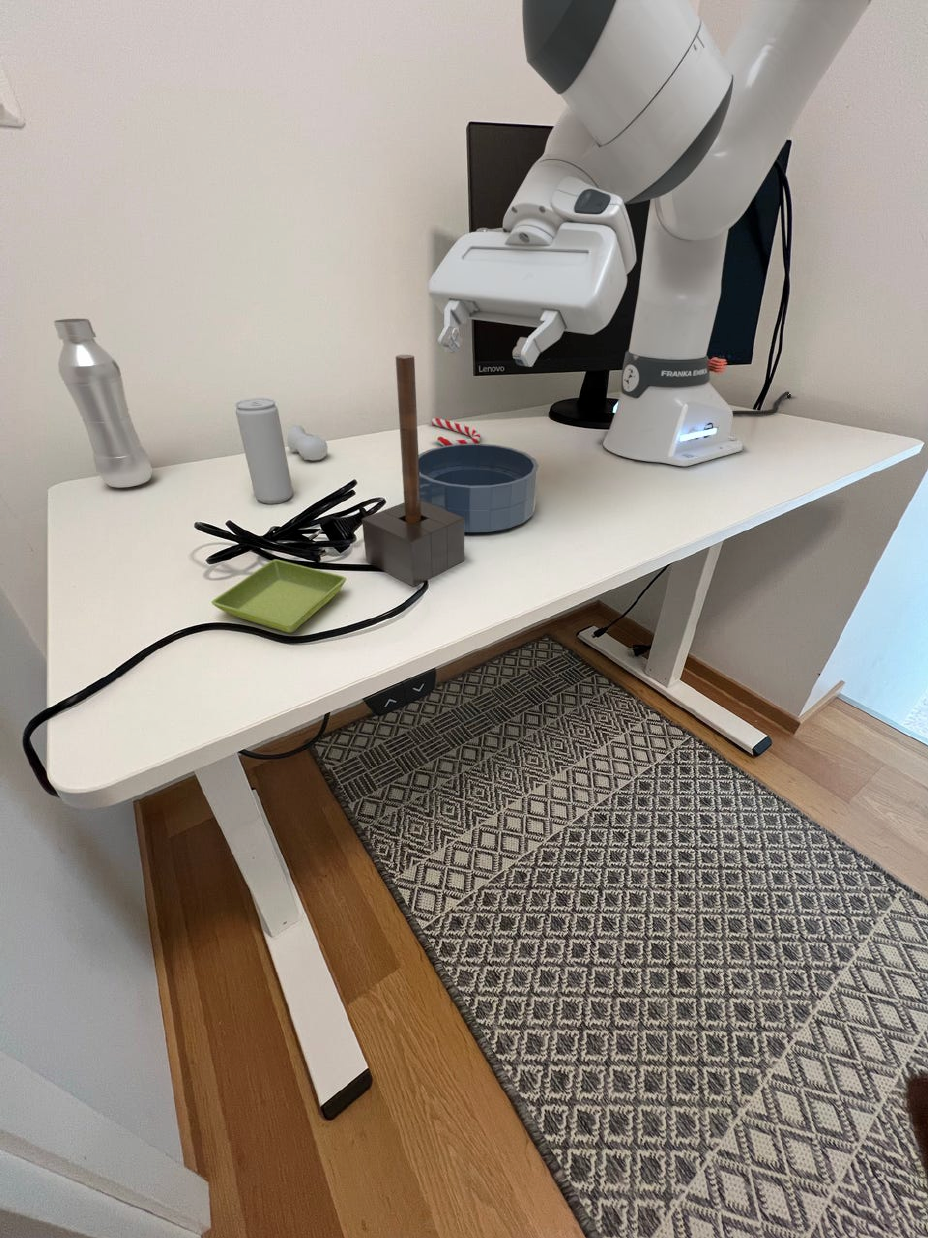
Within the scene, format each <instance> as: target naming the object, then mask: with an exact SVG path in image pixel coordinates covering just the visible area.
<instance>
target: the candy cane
mask: <svg viewBox="0 0 928 1238" xmlns="http://www.w3.org/2000/svg"><path fill="white" fill-rule="evenodd" d="M431 425H433V426H435V427H440V428H444V429H447V430H451V431H454V432H457V433H460V434H463V435H466V436H468V437H470V438H467V439H448V438H445V437H443V436H438V437H437V439H436V441H437V443H438V444H439V445H440V446H441V447H442V446H447V445H456V444H480V441H481V434H480V433H479V432H478V431H477V430H475V429H473V428H472V427H469V426H467V425H464V424H461V423H457V422H455V421H450V420H446V419H442V418H438V417H433V418H431Z"/></svg>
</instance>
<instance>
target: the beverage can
mask: <svg viewBox="0 0 928 1238" xmlns="http://www.w3.org/2000/svg"><path fill="white" fill-rule="evenodd" d="M234 406H235V415H236V419H237V420H236V421H237V424H238V428H239V433H240V438H241V441H242V446H243V451H244V454H245V459H246V462H247V463H246V464H247V467H248V472H249V476H250V480H251V484H252V488H253V494H254V497H255V498H256V500H258V502H260V503H263V504H266V505H267V504H268V505H273V504H274V505H275V504H276V505H277V504H281V503H285V502H286V501H288V500H290V499H291V497H292V496H293V494H294V490H293V484H292V479H291V473H290V468H289V467H290V466H289V461H288V457H287V452H286V451H287V450H286V447H285V441H284V435H283V431H282V424H281V419H280V414H279V409H278V406H277V405H276V401H275V400H274V399H273V398H268V397H267V398H266V397H254V398H253V397H252V398H246V399H242V400H238V401H236V402H235V403H234Z"/></svg>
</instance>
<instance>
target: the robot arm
mask: <svg viewBox="0 0 928 1238" xmlns="http://www.w3.org/2000/svg"><path fill="white" fill-rule="evenodd" d="M521 1H522V3H521V4H522V6H521V7H522V8H521V9H522V11H521V13H522V14H521V15H522V31H523V33H522V34H523V43H524V51H525V57H526V62H527V64H528V65H529V66H530V67H531V68H532V69H533V70H534V71H535V72H536V73H537V74H538V75H539V77H541V78H542V80H543V81H544V82H545V83H546V84H547V85H548V86H549V87H550V88H551V89H552V90H553V91H554V92H555V93H556V94H557V95H560V96H561V98H563V100H564V101H565V103H566V104H567V105H566V106H565V107H564V109H563V110H562V112H561V114H560V115H559V117H558V118H557V121H556V122H555V124H554V125H553V127H552V129H551V131H550V133H549V135H548V138H547V140H546V144H545V148H544V152H543V154H542V156H540V158H539V159H537V160H536V161H535V162H534V164H533V165H532V166H531V168H530V169H529V170H528V173H527V174H526V176H525V178H524V180H523V181H522V183H521V185H520V187H519V188H518V190H517V192H516V193H515V196H514V198H513V199H512V201H511V203H510V204H509V206H508V208H507V210H506V212H505V214H504V216H503V220H502V227H499V228H498V227H497V228H488V227H480V228H477V229H476V230H475V231H471V232H468V233H465V234H463V236H461V237H460V238H459V239H458V240H456V242H455V243H454V244H453V246H451V248H450V250H449V251H448V252H447V254H446V255H445V256H444V257H443V259H442V260H441V262H440V264H439V265H438V266H437V268H436V269H435V271H434V273H433V274H432V275H431V277H430V279H429V281H428V287H427V289H428V295H429V297H430V299H431V301H432V302H433V304H434V305H435V306H436V308H437V309H438V311H439V312H440V313H441V314H442V315H443V326H444V327H443V328H442V331H441V332H440V334H439V336H438V337H437V344H438V346H439V347H440V348H441V350H442V351H443V352H446V353H452V354H457V353H458V351H459V348H460V347H461V346H462V344H463V343H464V339H463V337H462V336H461V334H460V328H461V327H460V326H465V325H466V323H467V322H468V320H475V321H485V322H493V323H500V324H508V325H514V326H515V325H516V326H524V327H530V328H531V327H532V328H536V329H534V331H533V332H531V334H530V335H528V337H524V336H520V337H519V339H518V340H517V342H516V346H515V347H514V348H513V349H512V358H513V360H515V363H516V365H519V366H524V367H530V368H532V367H533V366H534V363H535V362H536V361H537V359H538V357H539V355H540V354H541V353H543V352H544V351H545V350H547V349H548V348H549V347H551V346H552V345H553V344H555V343H556V342H558V341H559V340H560V339H561V338H562V335H563V333H564V332H571V333H576V334H584V335H595V334H596V333H598V332H600V331H601V330H603V329H605V327H607V326H608V325H609V323H610V321H611V320H612V318H613V316H614V315H615V313H616V310H617V309H618V306H619V304H620V302H621V300H622V298H623V296H624V293H625V291H626V288H627V284H628V274H629V273H630V272H631V271H632V270H633V268H634V266H635V265H636V263H637V251H636V250H637V249H636V242H635V238H634V232H633V228H632V224H631V221H630V217H629V214H628V211H627V208H626V205H630V204H637V203H642V202H646V201H649V200H650V202H649V209H648V215H647V223H646V230H645V237H644V243H643V252H642V260H641V266H640V267H641V270H640V278H639V285H638V291H637V297H636V298H637V299H636V306H635V310H634V317H633V324H632V328H631V329H632V330H631V335H630V336H631V337H630V340H629V341H630V342H629V346H628V347H629V348H628V350H626V352H625V353H624V354H625V355H624V359H623V364H622V372H621V385H620V386H621V387H620V388H621V389H620V393H619V398H618V400H617V403H616V404H615V405H614V406H613V410H612V413H614V415H613V417H612V420H611V423H610V426H609V429H608V431H607V433H606V436H605V437H604V439H603V442H602V446H603V447H604V448H605V449H606V451H607V450H608V451H609V452H610V453H612V454H615V455H617V456H621V457H623V458H627V459H632V460H636V461H643V462H651V463H662V464H668V465H673V466H677V467H678V466H679V467H690V466H694V465H697V464H701V463H703V462H708V461H710V460H714V459H717V458H721V457H724V456H725V457H726V456H728V455H732V454H735V453H738V452H742V451H743V446H744V444H743V443H742V442H741V441H740V440H739V439H737V438H736V437H734V436H732V435H731V432H732V427H733V420H734V415H735V416H738V415H739V416H743V415H744V416H763V415H770V414H774V413H776V412H777V411H778V410H779V404H780V403H781V402H782V401H783V400H784V398H785V397H786V398H787V399H792V394H789V392H790V391H788V390H787V391H785V392H783V393H782V394H781V395H780V396H779V397H778V398H777V399H776V400H775V402H774V403H773V408H771V409H766V410H733V409H732V407H731V406H730V404H728V403H727V401H725V399H724V398H723V397H722V396H721V395H720V393H719V392H718V391H717V390H716V389H715V388H714V387H713V385H712V384H711V383H710V382H711V376H710V375H711V374H710V373H715V374H717V375H720V374H722V373H724V371H725V370H726V369H727V366H728V362H727V360H726V359H725V358H719V357H713V358H711V359H709V356H708V355H707V353H708V349H709V344H710V341H711V336H712V333H713V328H714V324H715V320H716V315H717V311H718V306H719V302H720V299H721V295H722V279H723V270H724V263H725V262H724V261H725V254H726V249H727V241H728V235H729V230H730V229H731V227H733V226H734V225H735V224H736V223H737V222H738V221H739V220H740V219H741V217H742V216H744V214H745V212H746V211H747V209H748V208H749V207H750V205H751V203H752V201H753V200H754V197H755V196H756V194H757V193H758V191H759V190H760V187H762V185H763V182H764V181H765V179H766V177H767V175H768V174H769V172H770V170H771V168H772V167H773V166H774V163H775V162H776V160H777V158H778V156H779V154H780V153H781V151H782V149H783V148H784V146H785V144H786V142H787V140H788V138H789V137H790V134H791V133H792V131H793V129H794V128H795V125H796V123H797V121H798V120H799V117H800V115H801V114H802V112H803V110H804V108H805V107H806V104H807V103H808V102H809V100H810V98H811V96H812V95H813V93H814V91H815V90H816V88H817V87H818V85H819V83H820V82H821V80H822V79H823V77H824V75H825V74H826V73H827V71H828V69H829V68H830V66H831V65H832V63H833V62H834V60H835V59H836V57H837V56H838V54H839V53H840V51H841V49H842V47H844V45H845V43H846V42H847V40H848V38H849V37H850V35H851V34H852V32H853V31H854V29H855V27H856V26H857V25H858V23H859V21H860V19H861V18H862V17H863V15H864V13H865V12H866V10H867V9H868V7H869V6H870V4H871V2H872V1H873V0H753V2H752V4H751V6H750V7H749V9H748V11H747V13H746V14H745V16H744V18H743V20H742V22H741V24H740V25H739V27H738V29H737V31H736V33H735V34H734V36H733V38H732V40H731V42H730V44H729V46H728V47H727V49H726V51H725V53H724V55H723V54H722V52H721V51H720V48H719V47H718V45H717V44H716V41H715V40H714V38H713V37H712V35H711V33H710V31H709V29H708V28H707V26H706V24H705V23H704V21H703V19H702V18H701V17H699V15H698V14H697V12H696V10H695V9H694V7H693V4H692V3H691V2H690V0H521ZM788 394H789V395H788Z"/></svg>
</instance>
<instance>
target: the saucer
mask: <svg viewBox="0 0 928 1238" xmlns="http://www.w3.org/2000/svg"><path fill="white" fill-rule="evenodd" d="M346 581H347V578H346V577H345V576H343V575H340V574H336V573H332V572H327V571H324V570H320V569H316V568H312V567H308V566H304V565H301V564H297V563H293V562H289V561H285V560H280V559H275V558H274V559H272V560H270V561H269V562H267V563H266V564H264V565H263V566H262V567H260V568H259V569H257V570H256V571H254V572H252V573H251V574H250V575H249V576H247V577H245V578H244V579H242V580H241V581H240V582H238V583H237V584H235V585H234V586H232V587H231V588H229V589H228V590H226V591H225V592H223V593H221V594H220V595H218V596H217V597H216V598H214V599H213V600H212V601H211V604H212V605H213V606H214V607H216V608H217V609H219V610H220V611H222V612H224V613H226V614H228V615H230V616H234V617H236V618H238V619H241V620H245V621H249V622H252V623H256V624H259V625H261V626H264V627H268V628H271V629H275V630H277V631H282V632H284V633H288V634H291V633H294V632H295V631H296V630H297V629H298V628H299V627H300V626H301V625H303V624H304V623H305V622H307V620H308V619H309V618H311V617H312V616H313V615H314V614H316V613H317V612H318V611H319V610H320V609H321V608H323V606H325V605H326V604H327V603H328V602H330V601H331V600H332V599H333V598H334V597H336V595H337V594H338V593H339V591H340V590H341V589H342V587H343V586H344V585H345V583H346Z"/></svg>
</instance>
